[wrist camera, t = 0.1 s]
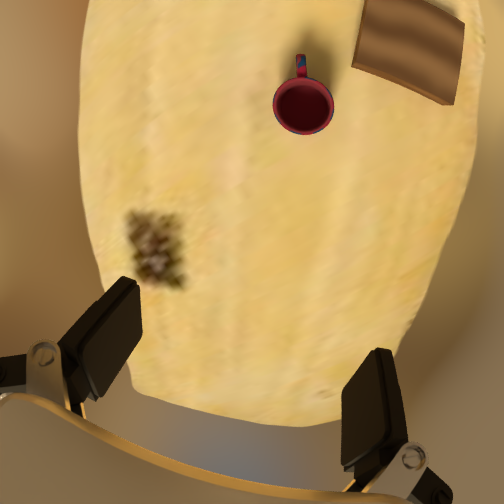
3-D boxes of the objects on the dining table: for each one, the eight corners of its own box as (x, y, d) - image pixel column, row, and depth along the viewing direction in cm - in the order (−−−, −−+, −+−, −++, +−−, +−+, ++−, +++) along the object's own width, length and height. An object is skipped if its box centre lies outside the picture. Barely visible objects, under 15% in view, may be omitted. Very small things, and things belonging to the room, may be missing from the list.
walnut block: (366, -10, 22) (371, -21, 19) (453, 29, 21) (464, 23, 18) (350, 67, 29) (355, 62, 26) (440, 105, 28) (453, 105, 25)
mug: (276, 129, 35) (270, 131, 29) (281, 59, 30) (276, 47, 24) (326, 135, 34) (331, 138, 28) (332, 65, 29) (338, 54, 23)
